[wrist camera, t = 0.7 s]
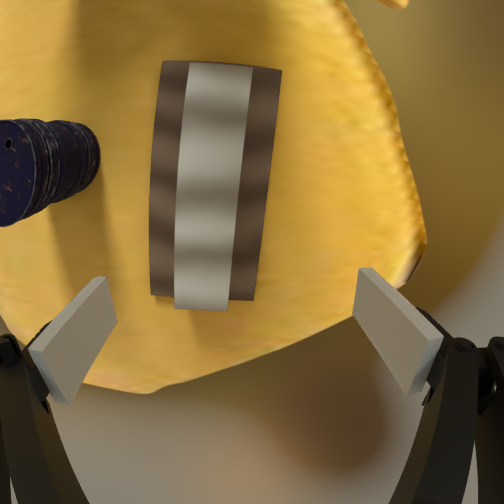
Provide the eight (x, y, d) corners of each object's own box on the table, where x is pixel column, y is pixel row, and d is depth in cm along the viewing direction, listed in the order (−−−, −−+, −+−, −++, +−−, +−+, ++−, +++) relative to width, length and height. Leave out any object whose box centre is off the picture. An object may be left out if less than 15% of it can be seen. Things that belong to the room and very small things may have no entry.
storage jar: (81, 208, 33) (18, 248, 19) (32, 175, 30) (-39, 199, 16) (114, 141, 30) (53, 143, 17) (61, 110, 27) (-11, 103, 14)
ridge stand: (164, 63, 28) (152, 44, 21) (279, 73, 30) (295, 56, 23) (152, 289, 38) (142, 320, 31) (252, 295, 40) (259, 326, 33)
